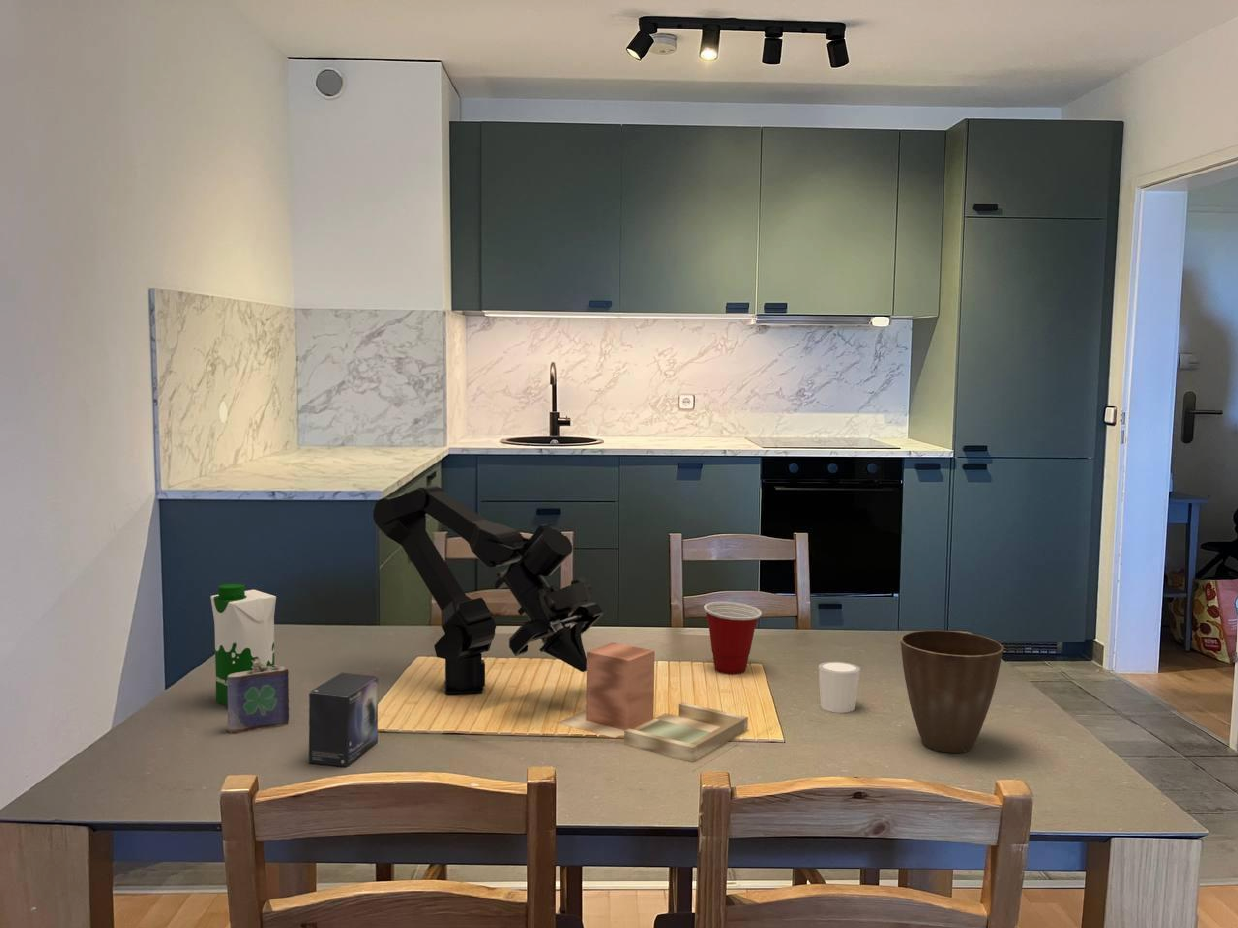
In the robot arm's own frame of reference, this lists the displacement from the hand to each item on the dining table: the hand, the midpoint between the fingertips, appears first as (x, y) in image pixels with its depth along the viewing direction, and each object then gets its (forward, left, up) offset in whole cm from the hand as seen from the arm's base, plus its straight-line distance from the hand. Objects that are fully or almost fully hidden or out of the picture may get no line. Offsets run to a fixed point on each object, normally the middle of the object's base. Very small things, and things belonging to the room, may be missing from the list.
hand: (586, 670), depth 170 cm
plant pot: (+53, -18, -8) cm, 57 cm away
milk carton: (-55, +17, -8) cm, 58 cm away
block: (+5, -5, -7) cm, 10 cm away
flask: (-51, +4, -8) cm, 52 cm away
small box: (-37, -9, -8) cm, 39 cm away
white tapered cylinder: (+43, +1, -8) cm, 44 cm away
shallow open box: (+8, -8, -8) cm, 14 cm away
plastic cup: (+31, +24, -8) cm, 40 cm away
